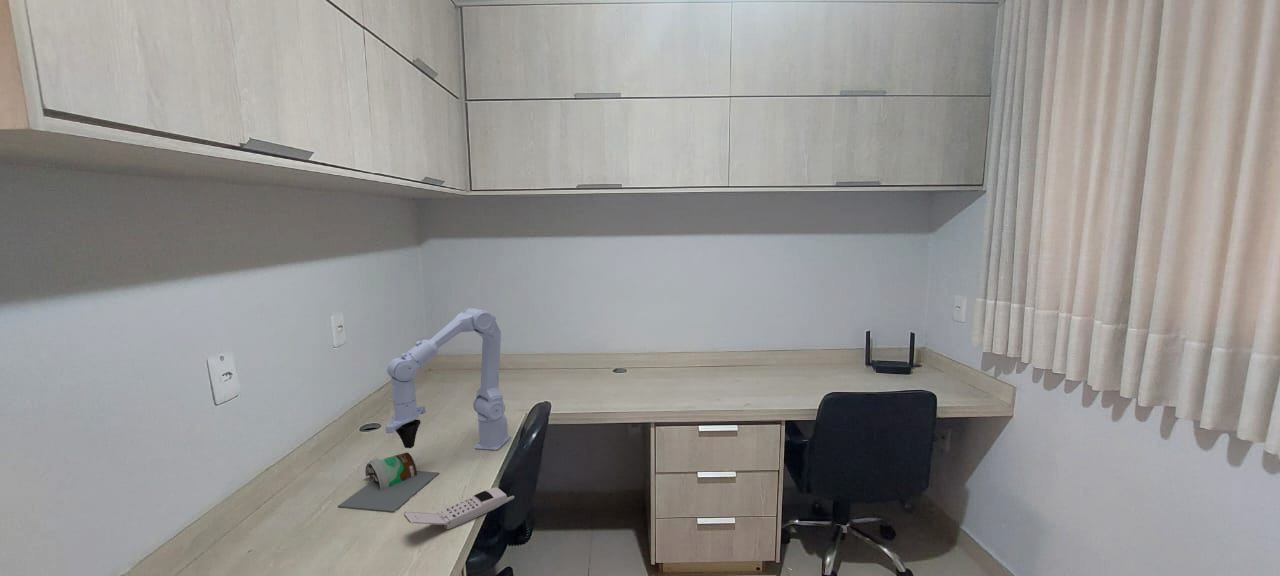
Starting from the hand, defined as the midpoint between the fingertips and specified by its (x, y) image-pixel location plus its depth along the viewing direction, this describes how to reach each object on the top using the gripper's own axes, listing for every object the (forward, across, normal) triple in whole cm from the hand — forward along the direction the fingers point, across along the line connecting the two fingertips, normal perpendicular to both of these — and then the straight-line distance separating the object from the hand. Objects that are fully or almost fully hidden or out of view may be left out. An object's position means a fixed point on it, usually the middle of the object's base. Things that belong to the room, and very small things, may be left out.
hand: (409, 447), depth 140 cm
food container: (+4, -2, -1) cm, 5 cm away
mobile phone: (+8, +17, +26) cm, 32 cm away
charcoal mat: (+8, +9, 0) cm, 12 cm away
